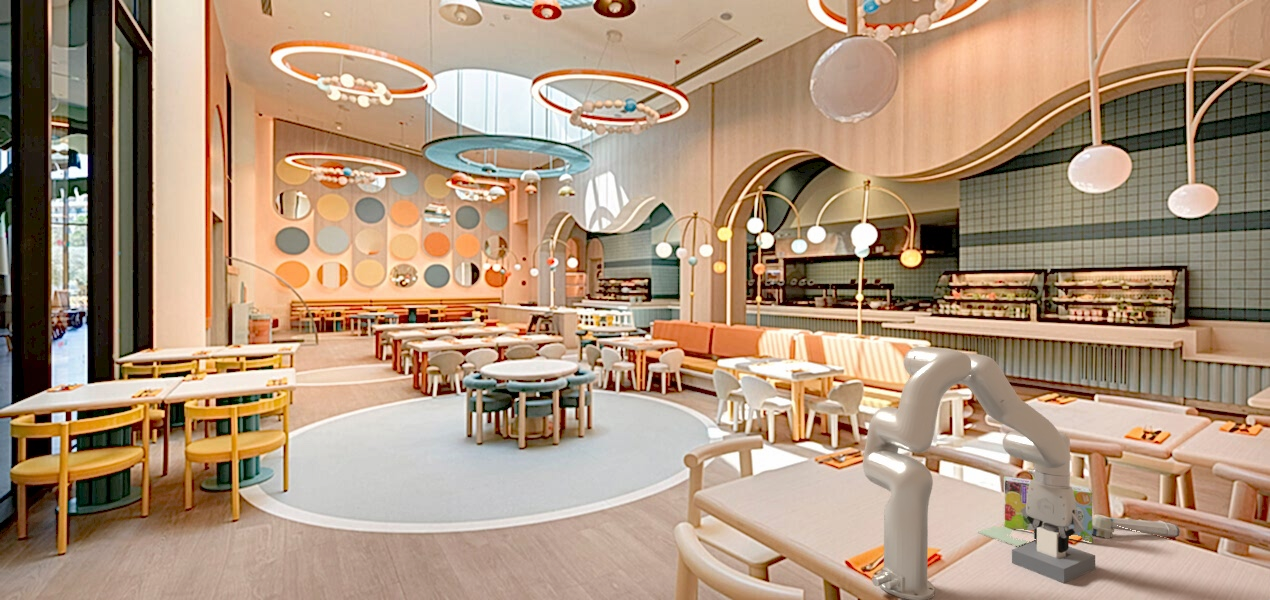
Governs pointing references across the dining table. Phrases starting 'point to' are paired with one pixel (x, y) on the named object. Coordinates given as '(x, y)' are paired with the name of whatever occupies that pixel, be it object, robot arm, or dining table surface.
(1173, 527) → the hair straightener
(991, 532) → the mat
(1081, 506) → the snack box
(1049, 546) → the plug
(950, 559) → the dining table surface
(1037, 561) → the grey rectangular frame block
